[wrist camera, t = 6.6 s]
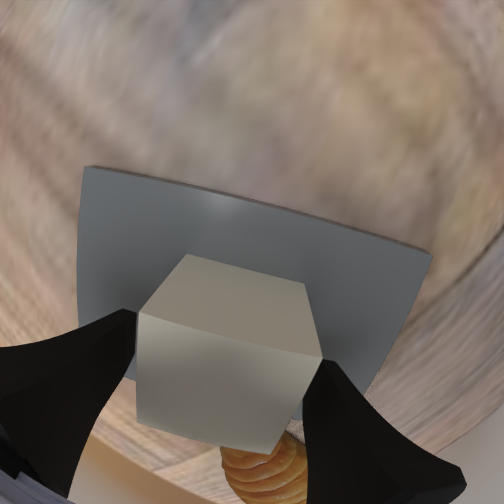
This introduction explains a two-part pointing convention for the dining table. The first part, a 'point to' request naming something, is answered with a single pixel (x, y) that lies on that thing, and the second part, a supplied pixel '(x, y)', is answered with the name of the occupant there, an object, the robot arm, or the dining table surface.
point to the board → (244, 260)
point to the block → (224, 355)
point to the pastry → (268, 473)
